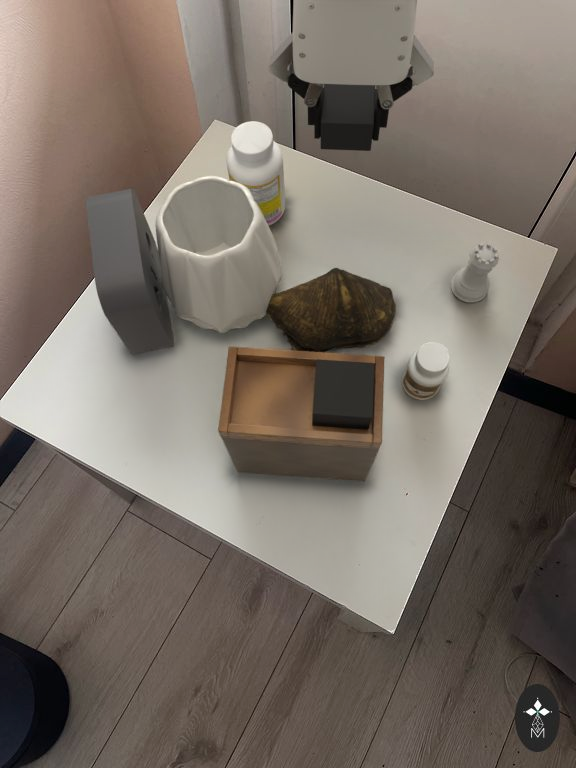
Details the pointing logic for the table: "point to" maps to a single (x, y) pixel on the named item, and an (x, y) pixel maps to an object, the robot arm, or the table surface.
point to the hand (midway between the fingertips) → (346, 127)
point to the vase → (216, 254)
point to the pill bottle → (426, 371)
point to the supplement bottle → (258, 167)
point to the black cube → (347, 117)
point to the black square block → (343, 394)
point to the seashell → (333, 312)
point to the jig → (292, 417)
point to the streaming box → (128, 271)
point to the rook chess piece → (475, 274)
